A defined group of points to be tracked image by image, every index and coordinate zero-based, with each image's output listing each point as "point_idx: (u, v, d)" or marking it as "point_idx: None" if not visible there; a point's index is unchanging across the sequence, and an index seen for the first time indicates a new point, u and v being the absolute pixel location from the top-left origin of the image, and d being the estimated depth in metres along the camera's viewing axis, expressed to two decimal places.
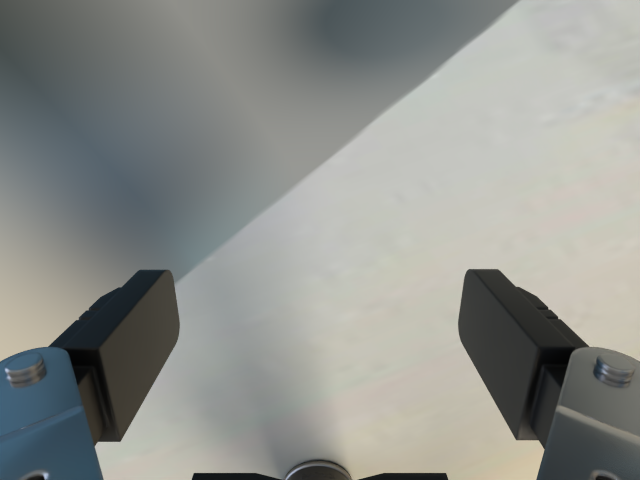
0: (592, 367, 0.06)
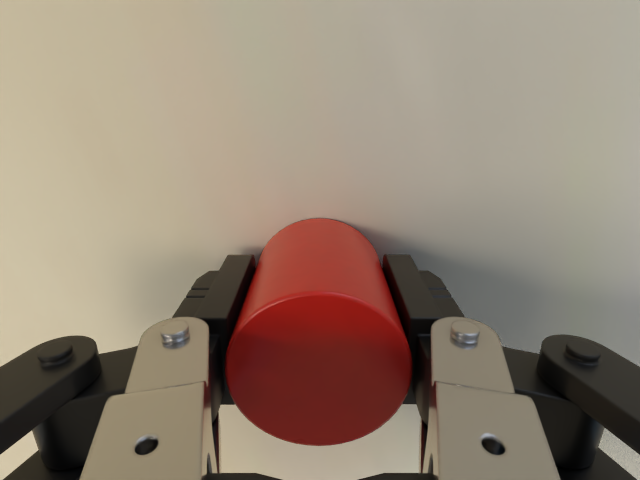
0: (446, 333, 0.07)
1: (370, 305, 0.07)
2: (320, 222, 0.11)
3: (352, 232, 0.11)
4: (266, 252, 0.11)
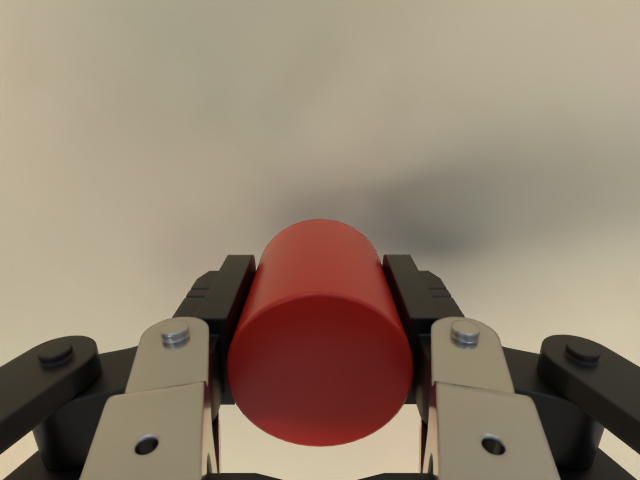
0: (446, 333, 0.07)
1: (372, 306, 0.07)
2: (321, 223, 0.11)
3: (353, 233, 0.11)
4: (267, 253, 0.11)
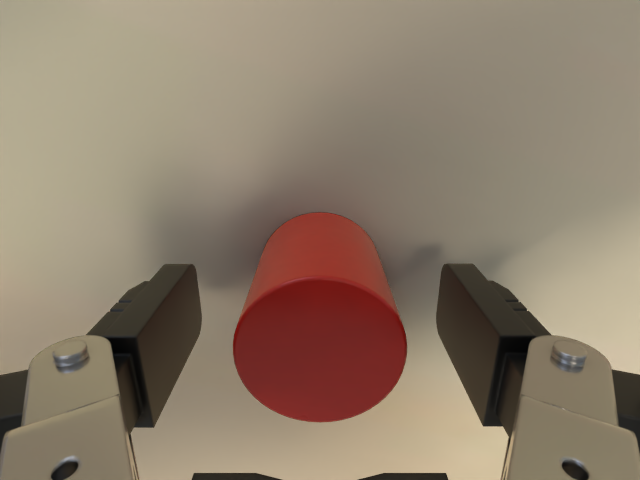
0: (548, 354, 0.07)
1: (368, 289, 0.08)
2: (321, 215, 0.12)
3: (351, 225, 0.12)
4: (270, 244, 0.11)
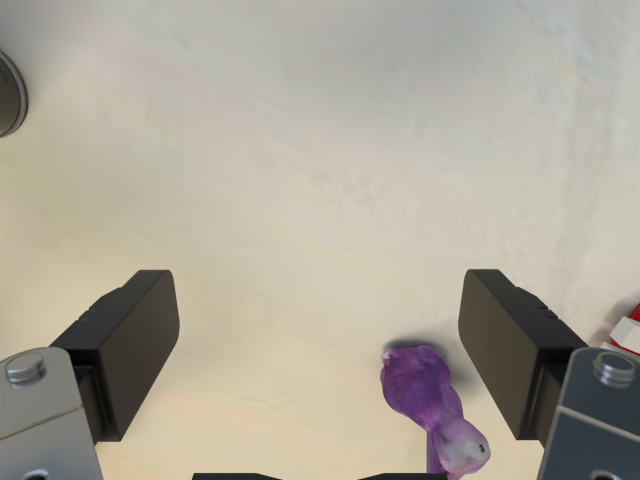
0: (592, 367, 0.06)
1: None
2: None
3: None
4: None
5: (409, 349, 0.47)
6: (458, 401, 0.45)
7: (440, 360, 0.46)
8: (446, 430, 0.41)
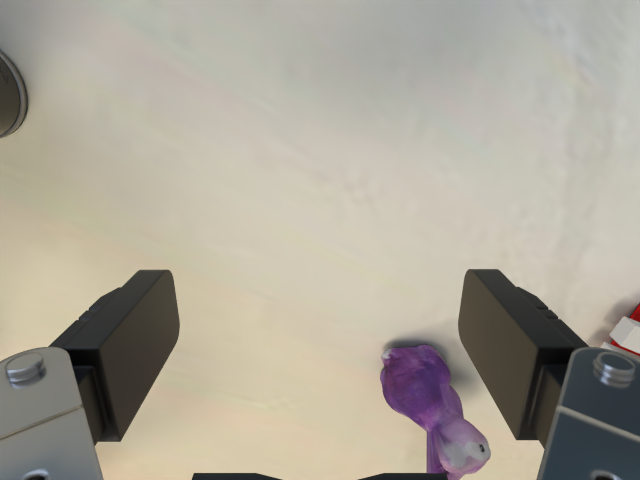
0: (592, 367, 0.06)
1: None
2: None
3: None
4: None
5: (409, 349, 0.47)
6: (458, 401, 0.45)
7: (440, 360, 0.46)
8: (446, 430, 0.41)
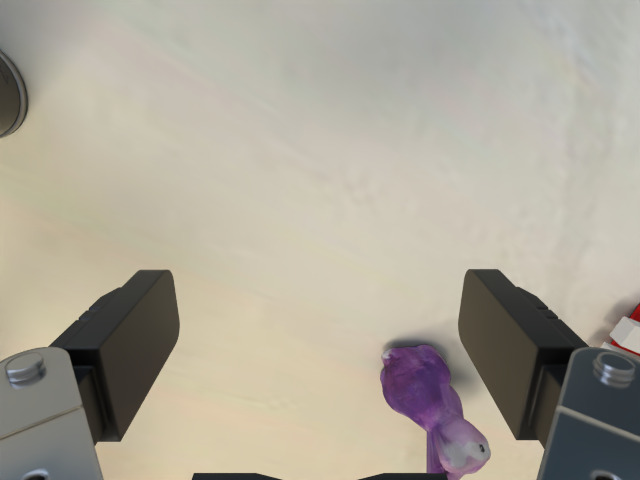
0: (592, 367, 0.06)
1: None
2: None
3: None
4: None
5: (409, 349, 0.47)
6: (458, 401, 0.45)
7: (440, 360, 0.46)
8: (446, 430, 0.41)
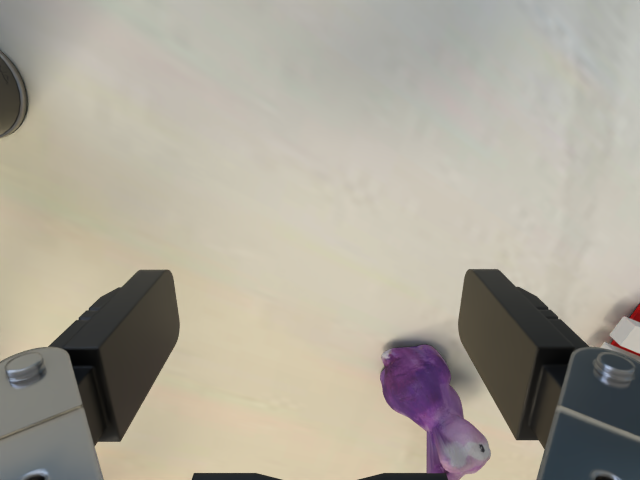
0: (592, 367, 0.06)
1: None
2: None
3: None
4: None
5: (409, 349, 0.47)
6: (458, 401, 0.45)
7: (440, 360, 0.46)
8: (446, 430, 0.41)
